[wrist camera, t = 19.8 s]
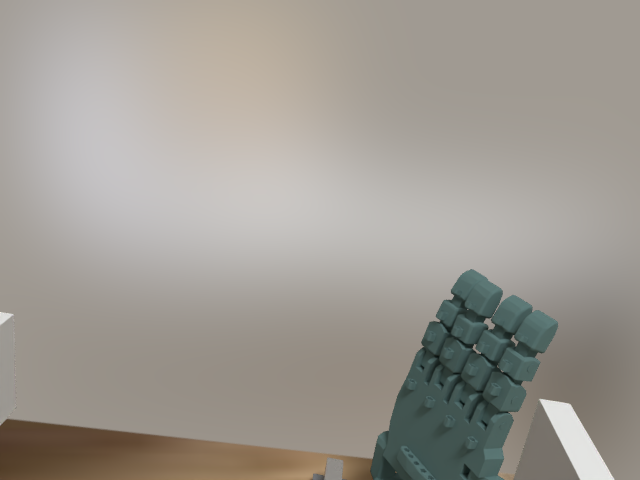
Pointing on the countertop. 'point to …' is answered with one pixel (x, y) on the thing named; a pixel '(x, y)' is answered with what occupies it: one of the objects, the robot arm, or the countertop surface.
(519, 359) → the robotic hand
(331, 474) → the rail dock
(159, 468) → the countertop surface
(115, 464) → the countertop surface
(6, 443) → the countertop surface
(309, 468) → the countertop surface
